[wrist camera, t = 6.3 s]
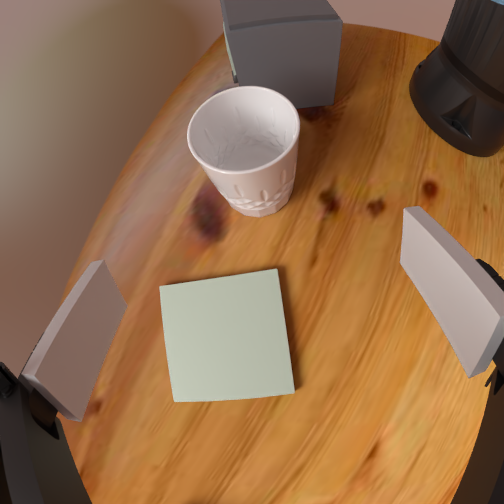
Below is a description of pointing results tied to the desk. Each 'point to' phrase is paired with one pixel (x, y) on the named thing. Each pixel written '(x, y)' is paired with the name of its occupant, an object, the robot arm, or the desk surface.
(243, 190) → the white cup
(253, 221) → the desk surface
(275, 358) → the coaster
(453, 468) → the desk surface
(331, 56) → the block
